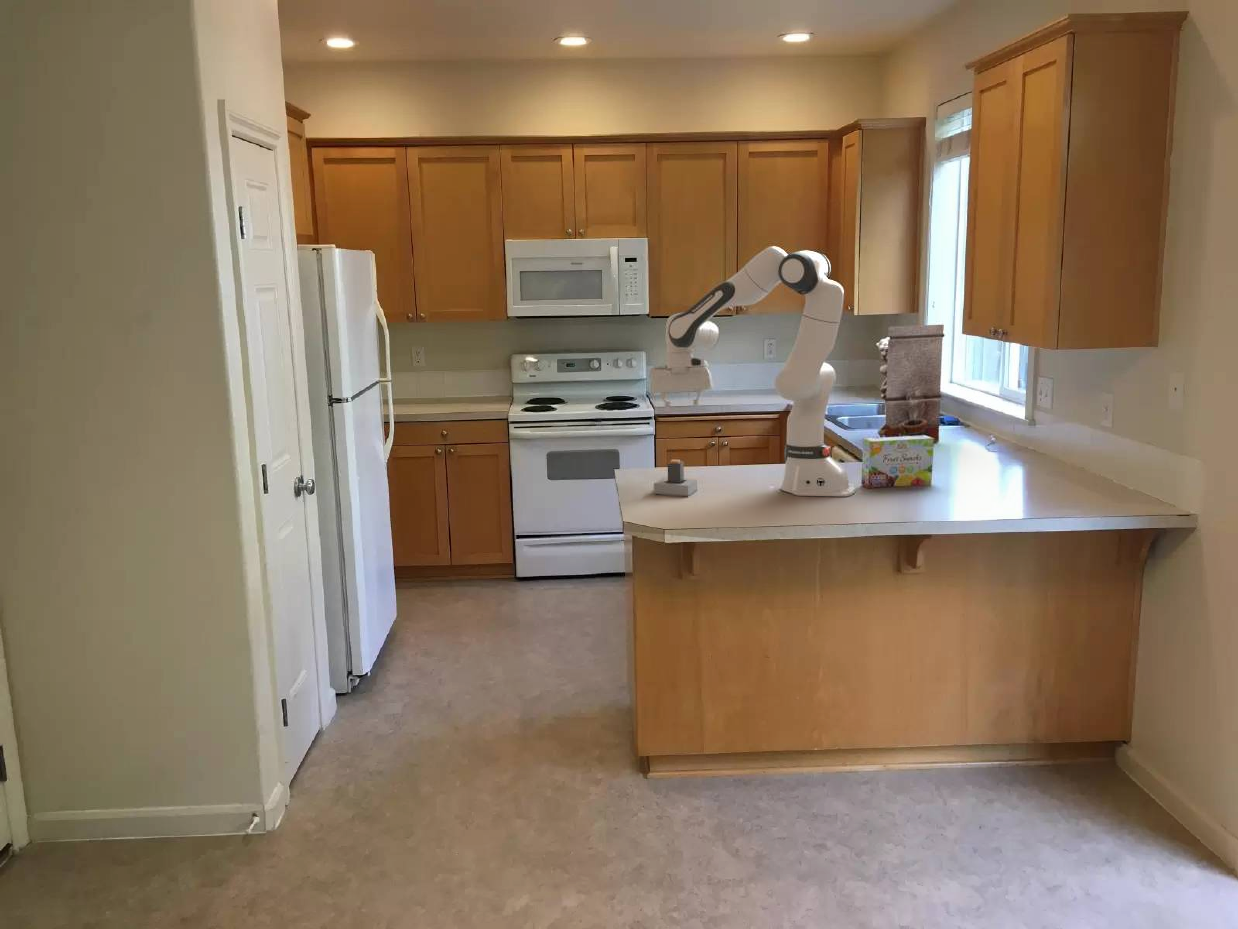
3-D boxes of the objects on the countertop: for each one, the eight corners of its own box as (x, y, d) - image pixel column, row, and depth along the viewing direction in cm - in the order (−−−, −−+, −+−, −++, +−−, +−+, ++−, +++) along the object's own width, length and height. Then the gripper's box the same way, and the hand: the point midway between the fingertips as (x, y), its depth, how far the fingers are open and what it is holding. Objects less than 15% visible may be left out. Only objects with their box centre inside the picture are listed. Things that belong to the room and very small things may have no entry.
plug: (683, 489, 291) (683, 459, 289) (680, 492, 287) (680, 461, 286) (671, 489, 292) (670, 458, 291) (667, 492, 289) (667, 461, 287)
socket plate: (697, 490, 292) (697, 479, 291) (688, 497, 284) (688, 485, 283) (663, 488, 296) (663, 477, 296) (653, 494, 288) (653, 483, 287)
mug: (896, 469, 317) (898, 425, 314) (873, 463, 327) (874, 420, 324) (936, 463, 325) (938, 420, 322) (911, 457, 335) (913, 416, 332)
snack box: (868, 489, 289) (870, 440, 286) (860, 485, 294) (862, 437, 291) (932, 484, 293) (934, 437, 290) (923, 481, 298) (925, 434, 295)
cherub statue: (912, 435, 379) (917, 322, 371) (939, 442, 362) (945, 324, 353) (861, 439, 374) (864, 324, 365) (886, 446, 356) (890, 326, 347)
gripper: (646, 364, 304) (648, 407, 303) (709, 359, 298) (710, 403, 297) (651, 368, 310) (653, 409, 309) (713, 362, 304) (714, 405, 303)
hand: (681, 406), depth 303 cm, fingers open, 8 cm apart
